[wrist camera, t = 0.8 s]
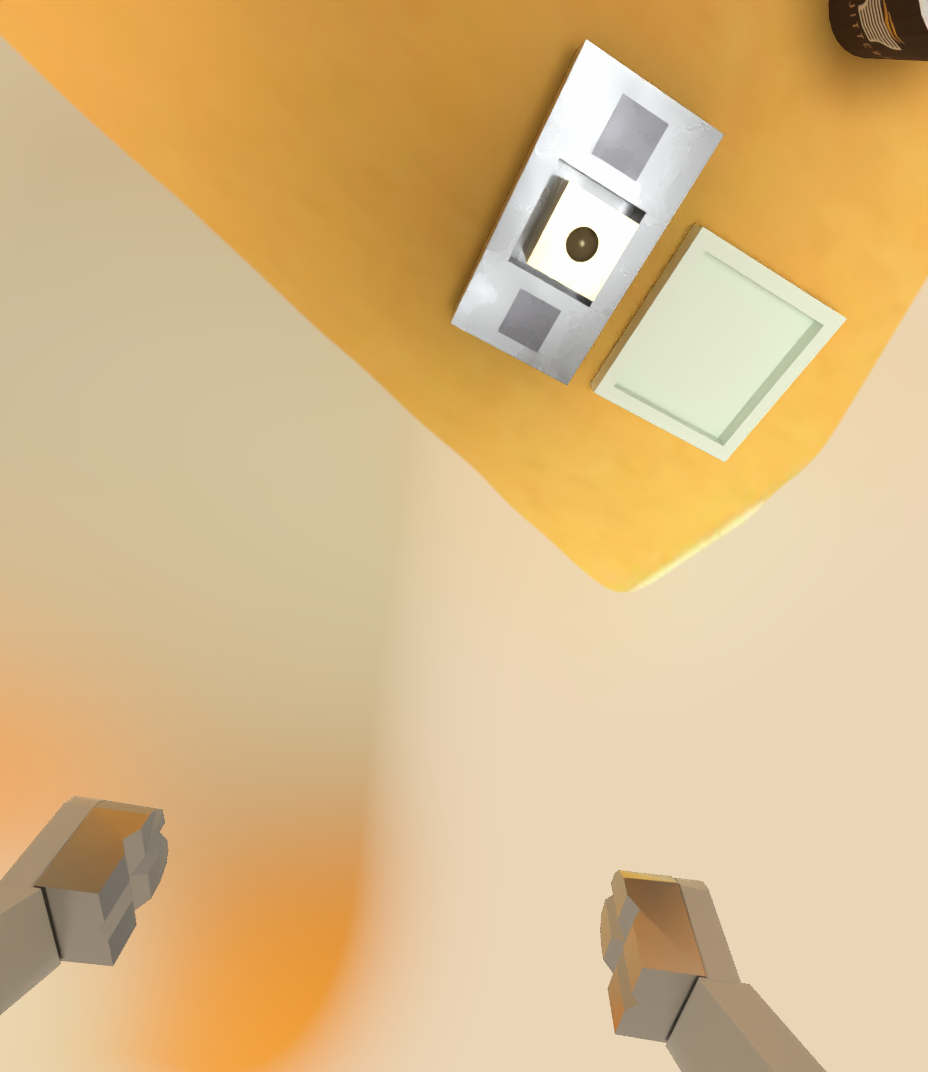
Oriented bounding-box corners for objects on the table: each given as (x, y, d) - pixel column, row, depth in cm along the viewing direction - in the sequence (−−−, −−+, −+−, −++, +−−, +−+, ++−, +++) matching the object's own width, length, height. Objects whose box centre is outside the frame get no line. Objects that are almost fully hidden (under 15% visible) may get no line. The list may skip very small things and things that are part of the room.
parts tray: (694, 223, 38) (703, 226, 36) (833, 312, 41) (846, 318, 39) (590, 383, 44) (593, 392, 42) (716, 451, 47) (724, 462, 45)
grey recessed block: (577, 48, 33) (586, 39, 30) (704, 135, 35) (724, 134, 32) (453, 310, 41) (450, 323, 38) (561, 368, 43) (567, 385, 40)
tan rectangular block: (558, 176, 36) (570, 181, 31) (619, 213, 37) (640, 225, 32) (522, 247, 38) (527, 263, 33) (580, 281, 39) (593, 302, 34)
